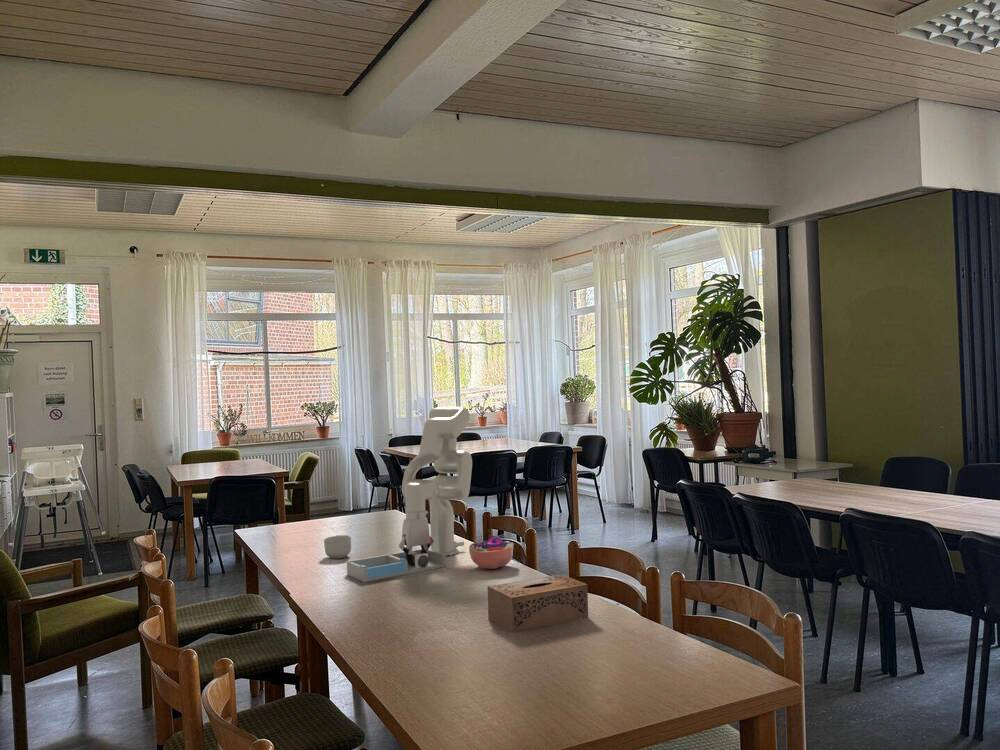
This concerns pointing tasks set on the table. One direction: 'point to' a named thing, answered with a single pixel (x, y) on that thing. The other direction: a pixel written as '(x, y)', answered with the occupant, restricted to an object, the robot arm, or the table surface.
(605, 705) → the table surface
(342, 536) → the teacup
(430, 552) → the divided grey tray
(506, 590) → the tissue box cover
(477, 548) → the cell model
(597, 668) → the table surface
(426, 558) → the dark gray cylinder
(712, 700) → the table surface
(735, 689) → the table surface
